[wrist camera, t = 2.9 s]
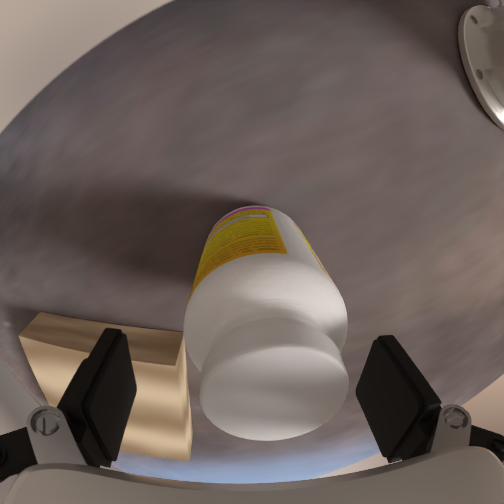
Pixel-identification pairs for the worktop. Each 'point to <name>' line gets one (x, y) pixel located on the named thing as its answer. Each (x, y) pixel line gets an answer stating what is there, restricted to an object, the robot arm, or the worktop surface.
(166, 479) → the robot arm
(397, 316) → the worktop surface
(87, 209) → the worktop surface
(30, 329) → the block
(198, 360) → the supplement bottle
